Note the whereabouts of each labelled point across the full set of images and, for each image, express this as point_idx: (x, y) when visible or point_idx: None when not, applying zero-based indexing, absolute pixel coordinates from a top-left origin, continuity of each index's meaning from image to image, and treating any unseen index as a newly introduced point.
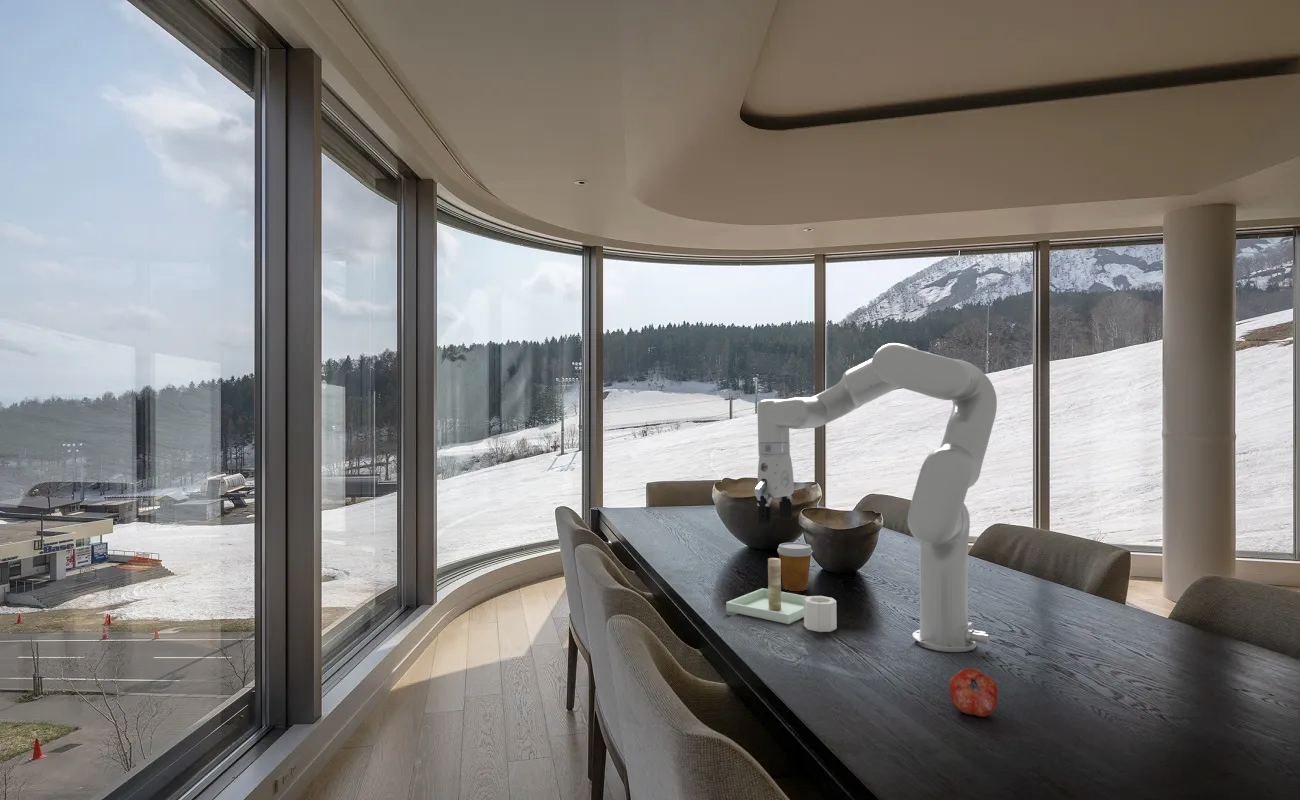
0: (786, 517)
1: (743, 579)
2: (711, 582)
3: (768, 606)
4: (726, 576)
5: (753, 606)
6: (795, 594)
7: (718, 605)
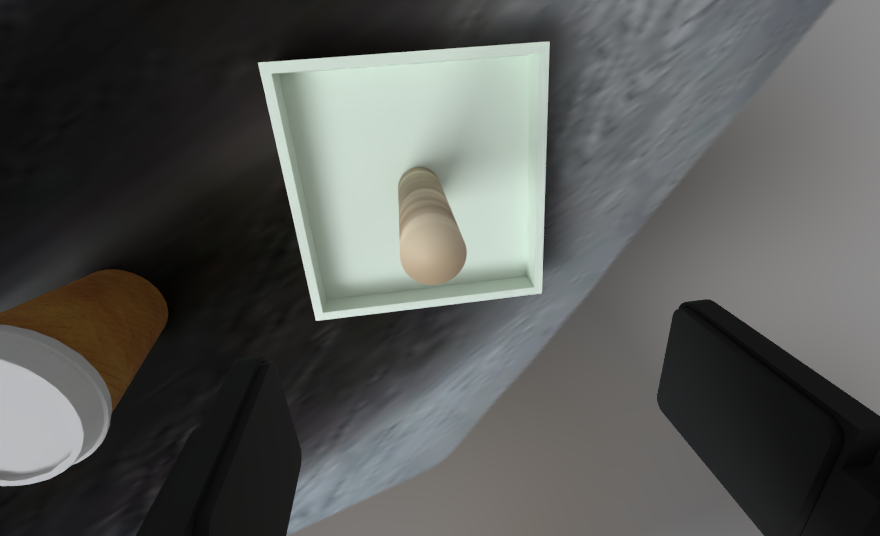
0: (283, 395)
1: None
2: None
3: None
4: None
5: None
6: (291, 190)
7: (466, 346)
